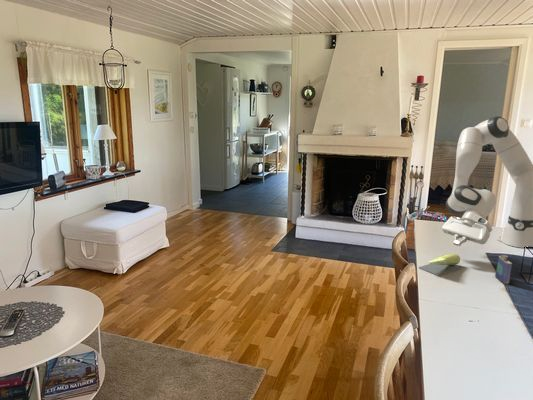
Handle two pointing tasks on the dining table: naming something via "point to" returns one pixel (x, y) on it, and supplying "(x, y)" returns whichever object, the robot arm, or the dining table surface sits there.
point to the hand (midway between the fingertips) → (456, 244)
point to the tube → (446, 260)
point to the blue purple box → (503, 269)
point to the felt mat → (439, 269)
